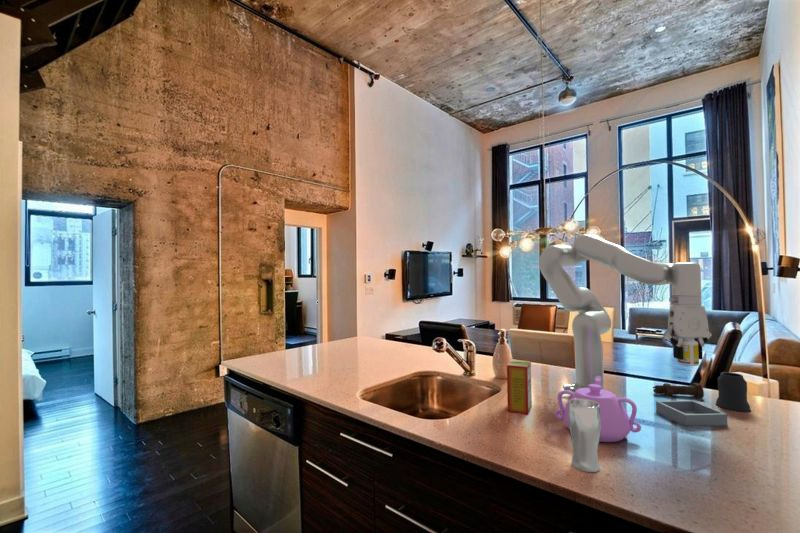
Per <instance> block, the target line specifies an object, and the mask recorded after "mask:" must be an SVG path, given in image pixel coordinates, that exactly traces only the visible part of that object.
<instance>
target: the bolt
mask: <svg viewBox="0 0 800 533" xmlns="http://www.w3.org/2000/svg"><path fill="white" fill-rule="evenodd" d="M652 392H654V393H655V394H656V395H665V396H666V397H673V396H674V395H679V396H680V395H681V396H694V397H695V398H697V399H704V396H705V392H704V388H703V386H702V384H700V383H698V382H693V383H692V385H671V383H669V382H668V383H667V382H664V383H663V384H662V385H660V384H659V385H658V384H657V385H654V386H652Z"/></svg>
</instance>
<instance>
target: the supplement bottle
mask: <svg viewBox="0 0 800 533" xmlns="http://www.w3.org/2000/svg"><path fill="white" fill-rule="evenodd" d="M694 339H695V338H683V341H682V344H681V347H683V360H680V359H677V363H678V365H681V366H687V367H688V366H689V367H690V366H691V367H696V366H699V364H700V359H699V352H698V342H697V341H695V340H694Z"/></svg>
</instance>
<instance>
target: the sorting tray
mask: <svg viewBox="0 0 800 533" xmlns="http://www.w3.org/2000/svg"><path fill="white" fill-rule="evenodd" d="M655 409H656V410H655V412H656V413H657V414H659V415H661V414H662V416H663V415H664V417H665V418H667V417H668V418H667V419H669V418H670V419H669V420H671V419H672V421H673V420H674V421H673V422H675V421H676V422H675V423H677V424H680V425H681V426H683V427H685V428H699V427H701V428H702V427H703V428H704V427H728V414H727V413H725V412H723V411H720V410H718V409H715V408H712V407H710V406H708V405H705V404H703V403H700V402H698V401H696V400H693V399H692V400H658V401H657V400H656V401H655Z"/></svg>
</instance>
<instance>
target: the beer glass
mask: <svg viewBox="0 0 800 533" xmlns="http://www.w3.org/2000/svg"><path fill="white" fill-rule="evenodd" d="M568 401H569V400H568ZM569 427H570V429H569V432H570V436H571V442H572V449H573V450H572V458H571V465H572V467H573V468H575V469H576V470H578V471H581V472H585V473H597V472H599V471H600V470H601V466H600V460H599V455H598V454H599V445H600V444H599V443H600V441H599V440H600V433H601V415H600V405H599V403H597V402H595V401H592V400H588V399H572V400H570V401H569Z"/></svg>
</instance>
